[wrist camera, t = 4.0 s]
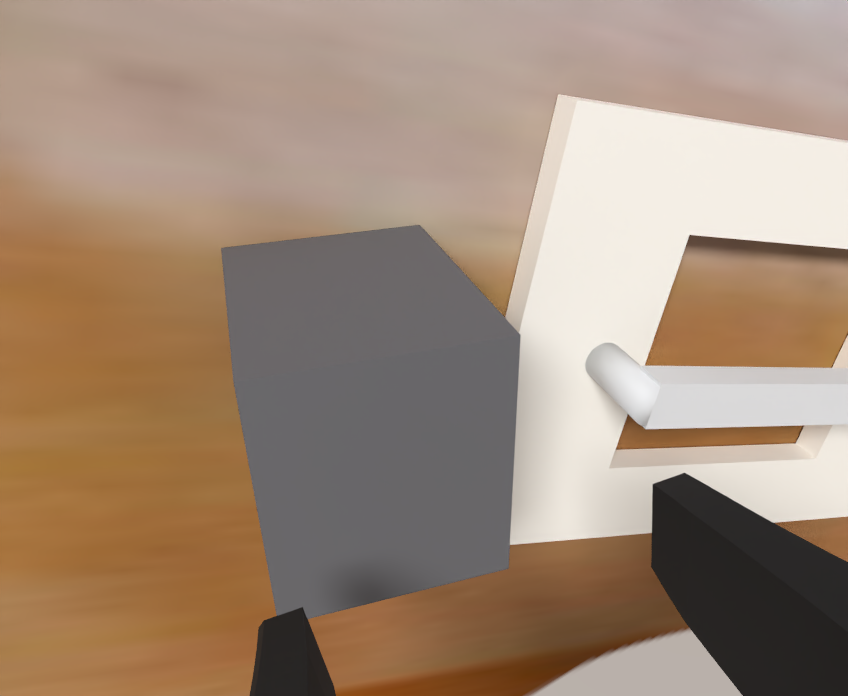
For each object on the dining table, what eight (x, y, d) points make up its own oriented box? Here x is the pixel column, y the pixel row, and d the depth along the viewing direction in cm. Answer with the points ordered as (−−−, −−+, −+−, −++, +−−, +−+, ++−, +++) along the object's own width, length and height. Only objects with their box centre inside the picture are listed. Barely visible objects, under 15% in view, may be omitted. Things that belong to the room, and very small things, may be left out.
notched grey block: (221, 248, 16) (233, 381, 11) (419, 225, 18) (520, 335, 12) (255, 441, 19) (279, 625, 14) (424, 410, 20) (508, 568, 15)
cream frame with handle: (1027, 169, 23) (1154, 198, 20) (848, 499, 29) (925, 559, 26) (558, 94, 17) (637, 118, 14) (455, 527, 23) (494, 610, 20)
